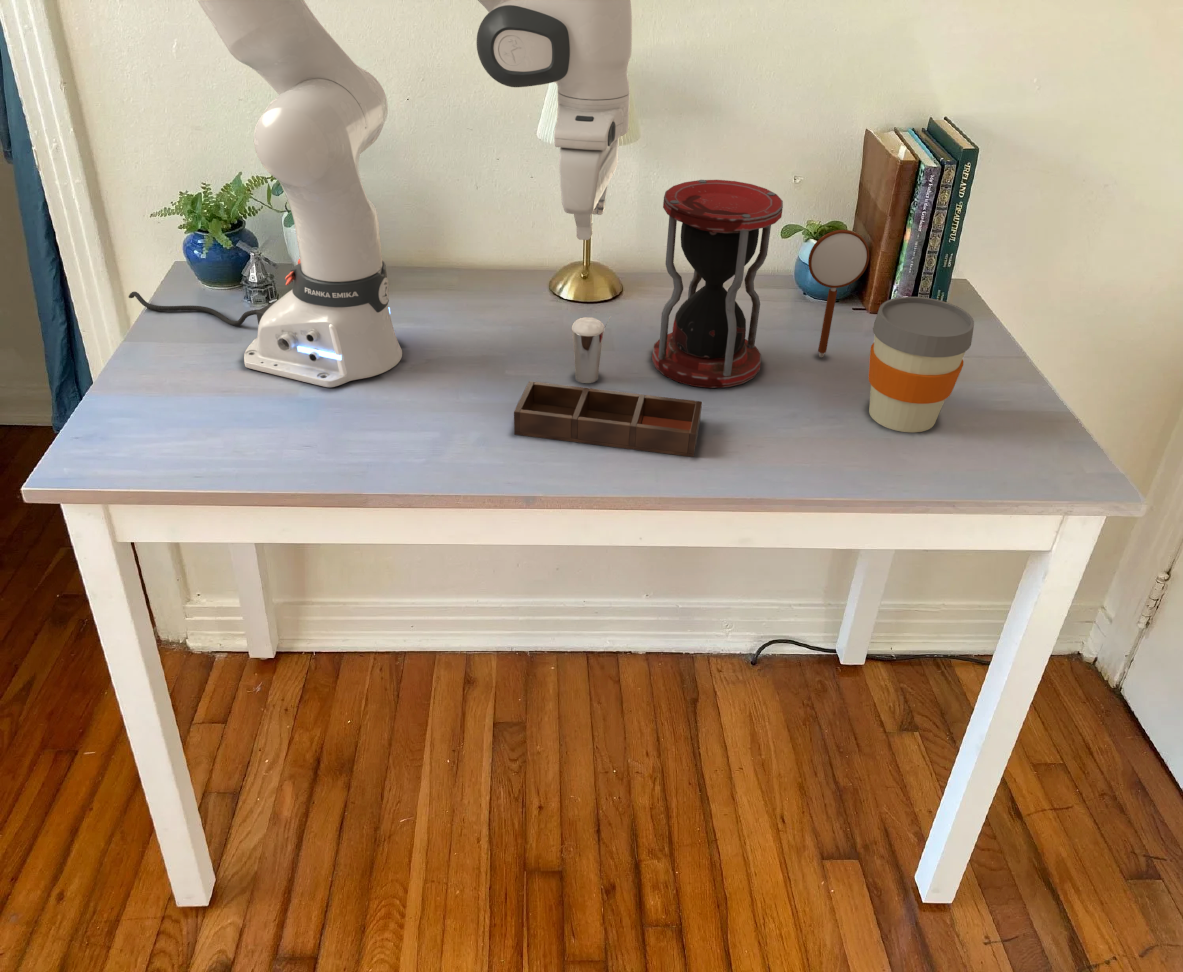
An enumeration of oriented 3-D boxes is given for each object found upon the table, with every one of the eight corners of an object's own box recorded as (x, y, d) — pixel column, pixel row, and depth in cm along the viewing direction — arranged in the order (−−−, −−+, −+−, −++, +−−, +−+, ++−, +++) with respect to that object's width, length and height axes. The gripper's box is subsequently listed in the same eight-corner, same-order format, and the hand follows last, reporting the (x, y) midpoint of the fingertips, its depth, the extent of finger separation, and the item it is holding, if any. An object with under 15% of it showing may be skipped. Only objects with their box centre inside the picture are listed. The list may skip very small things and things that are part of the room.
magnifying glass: (793, 359, 151) (814, 231, 139) (791, 353, 152) (812, 226, 141) (850, 360, 151) (876, 232, 140) (848, 355, 152) (873, 228, 141)
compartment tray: (514, 434, 131) (513, 411, 129) (529, 403, 138) (529, 380, 136) (693, 457, 128) (696, 434, 126) (699, 423, 135) (702, 401, 133)
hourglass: (636, 344, 153) (646, 182, 139) (732, 333, 157) (751, 174, 143) (676, 395, 141) (691, 223, 126) (778, 381, 145) (805, 212, 131)
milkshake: (604, 388, 142) (607, 324, 136) (567, 383, 142) (568, 319, 137) (610, 373, 145) (613, 310, 140) (574, 369, 146) (575, 305, 140)
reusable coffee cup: (965, 436, 134) (994, 335, 125) (877, 442, 132) (900, 339, 123) (924, 390, 144) (949, 293, 135) (842, 395, 142) (861, 297, 134)
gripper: (583, 93, 132) (582, 197, 139) (550, 136, 115) (551, 251, 123) (631, 96, 131) (627, 200, 139) (604, 140, 114) (601, 255, 122)
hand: (591, 225), depth 131 cm, fingers open, 8 cm apart
